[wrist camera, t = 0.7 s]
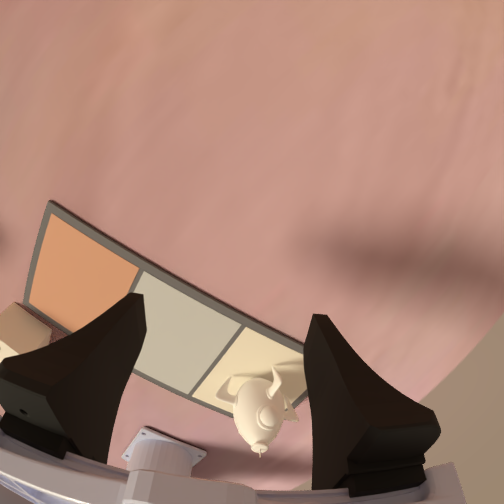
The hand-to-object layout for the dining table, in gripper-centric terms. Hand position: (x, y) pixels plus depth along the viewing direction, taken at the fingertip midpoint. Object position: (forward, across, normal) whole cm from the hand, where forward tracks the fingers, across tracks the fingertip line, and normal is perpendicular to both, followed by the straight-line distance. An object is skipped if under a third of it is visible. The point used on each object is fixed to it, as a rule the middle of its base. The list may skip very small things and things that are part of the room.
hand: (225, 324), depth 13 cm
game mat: (+9, +5, +10) cm, 14 cm away
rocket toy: (+8, -3, +14) cm, 16 cm away
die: (+8, +20, +12) cm, 25 cm away
